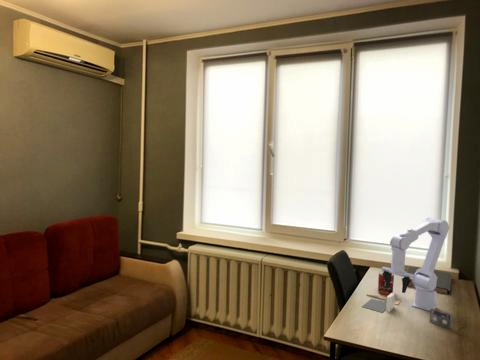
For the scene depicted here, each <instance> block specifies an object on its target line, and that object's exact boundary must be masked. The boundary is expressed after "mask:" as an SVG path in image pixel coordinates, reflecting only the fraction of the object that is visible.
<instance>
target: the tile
mask: <svg viewBox="0 0 480 360" xmlns="http://www.w3.org/2000/svg"><path fill="white" fill-rule="evenodd" d="M386 296H387V297H386V298H387V305H386V310H385V311H386V312H388V313H390V312H392V311H393V310H394V309H395V304H394V301H395V300H396V294H395V293H394V292H393V293H391V294H390V295H386Z"/></svg>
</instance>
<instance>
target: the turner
mask: <svg viewBox="0 0 480 360" xmlns="http://www.w3.org/2000/svg"><path fill="white" fill-rule="evenodd" d="M366 296H367V297H371V298H373V299H377V300H380V301H384V302H387V297H382V296H378V295H375V294H371V293H366ZM400 303H401V301H400V300H396V299H395V301H394V306H397V305H399V304H400Z"/></svg>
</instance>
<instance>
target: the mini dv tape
mask: <svg viewBox="0 0 480 360" xmlns="http://www.w3.org/2000/svg"><path fill="white" fill-rule="evenodd" d="M452 317H453V316H452V314H451V313H447V312H443V311H440V310H437V309H430V311H429V323H432V324H435V325H437V326H440V327H444V328H446V329H451V328H452V327H451V326H452Z"/></svg>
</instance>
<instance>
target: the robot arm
mask: <svg viewBox="0 0 480 360" xmlns="http://www.w3.org/2000/svg"><path fill="white" fill-rule="evenodd" d="M449 225H450V224H449V223H448V221H447V220H445V219H437V218H432V217H426V218H425V219H423V221H422V223H421V224H420V225H418V226H416V227H415V228H414V229H413V228H408V229H407V230H406V231H404V232H403V233H400V234H399V235H394V236H392V237H391V239H390V240H389V241H390V242H389V244H390V248H391V252H392V253H391V261H390V262H391V263H390V267H387V266H382V267H381V271H383V272H384V273H382V275H383V277H384V279H385V282H386V288H390V281H391V276H392V274H394V276H396V275H397V276H399V277H402V278H401V281H402V282H401V283H402V285H401V286H402V287H401V293H402V294H405V293H406V292H407V289H408V288H409V287H408V285H409V283H410V281H411V280H412V282H413V284H414V287H416V288H415V293H414V302H413V303H412V305H411V306H412V307H415V308H418V309H421V310H425V311H429V312H430V309H434V310H436V308H437V301H438V300H437V299H438V297H437V296H438V292H435V291H433V290H434V289H435V288H436V281H437V276H436V275H435V273H434V271H435V269H436V265H437V263H438V261H439V257H440V254H441V251H442V248H443V245H444V244H445V243H444V242H445V239H446V238H447V236H448V233H449V230H450V226H449ZM425 233H428V234H429V236H430V237H431V240H430V243H429V246H428V250H427V252H426V255H425V258H424V261H423V265H422V267H419V268H420V269H418V270H416V273H415V274H414V275H413V274H410V273H407V271H405V262H406V252H407V250H408V249H409V247H410V246H411V244H412V243H414V242H416V241H417V240H418V239H419V236H422V235H424V234H425ZM425 275H427V276H425ZM428 276H429V277H428Z"/></svg>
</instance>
